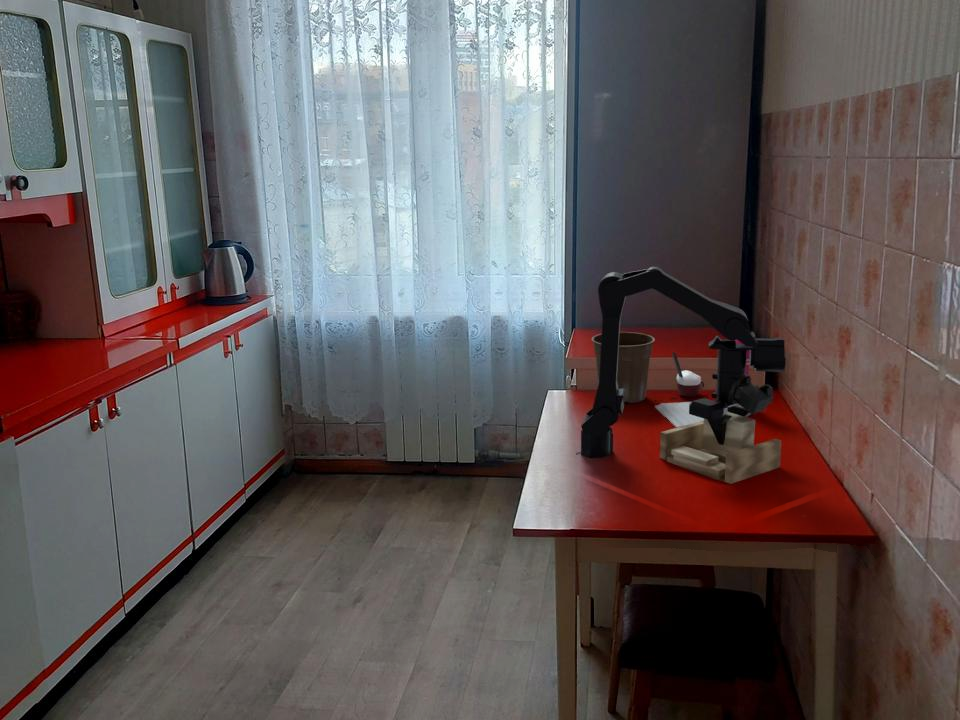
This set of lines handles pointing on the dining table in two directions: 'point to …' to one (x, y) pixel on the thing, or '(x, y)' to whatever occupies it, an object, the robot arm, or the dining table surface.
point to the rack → (736, 462)
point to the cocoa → (687, 381)
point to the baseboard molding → (677, 413)
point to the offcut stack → (698, 462)
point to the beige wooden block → (730, 435)
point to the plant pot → (630, 363)
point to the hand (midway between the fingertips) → (727, 442)
